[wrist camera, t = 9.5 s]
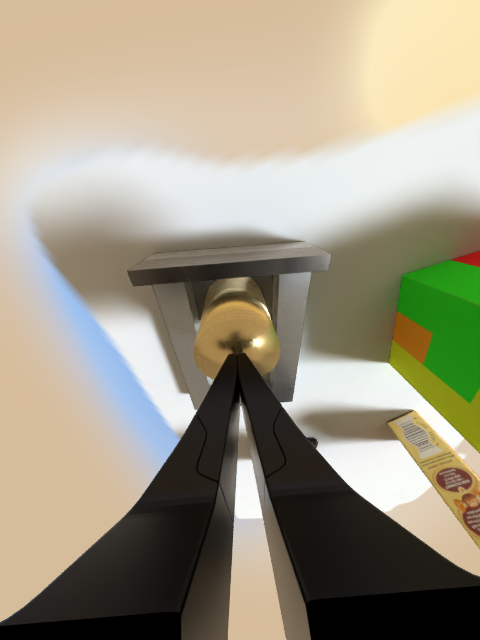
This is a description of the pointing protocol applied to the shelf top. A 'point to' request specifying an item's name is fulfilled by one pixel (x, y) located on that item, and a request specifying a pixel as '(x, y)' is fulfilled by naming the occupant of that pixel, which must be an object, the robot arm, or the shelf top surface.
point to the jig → (224, 263)
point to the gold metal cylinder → (235, 327)
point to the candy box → (442, 470)
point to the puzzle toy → (442, 340)
